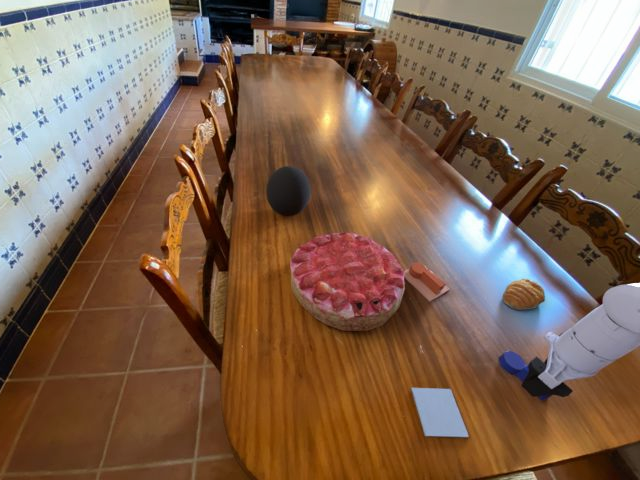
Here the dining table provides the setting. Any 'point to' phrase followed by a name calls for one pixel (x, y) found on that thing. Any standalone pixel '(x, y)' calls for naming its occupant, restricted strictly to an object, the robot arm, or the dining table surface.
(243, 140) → the dining table surface
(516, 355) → the blue spoon
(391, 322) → the dining table surface
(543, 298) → the pastry
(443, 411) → the blue mat
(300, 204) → the decorative egg
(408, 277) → the rose mat
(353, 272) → the cake
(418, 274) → the terracotta spoon
